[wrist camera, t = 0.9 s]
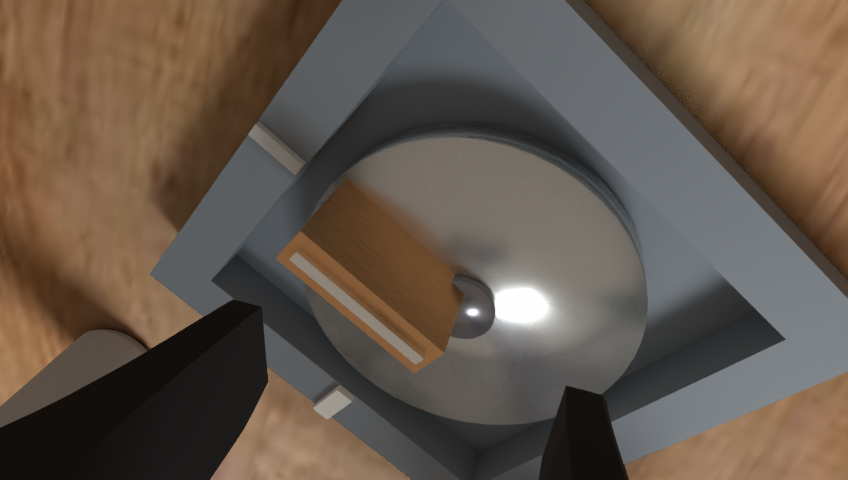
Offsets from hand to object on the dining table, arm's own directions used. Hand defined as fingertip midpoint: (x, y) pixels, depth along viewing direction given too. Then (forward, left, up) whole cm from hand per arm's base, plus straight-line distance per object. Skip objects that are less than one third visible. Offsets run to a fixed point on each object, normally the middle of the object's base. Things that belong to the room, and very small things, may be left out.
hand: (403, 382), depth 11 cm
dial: (-3, +4, -10) cm, 11 cm away
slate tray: (-3, +4, -10) cm, 11 cm away
